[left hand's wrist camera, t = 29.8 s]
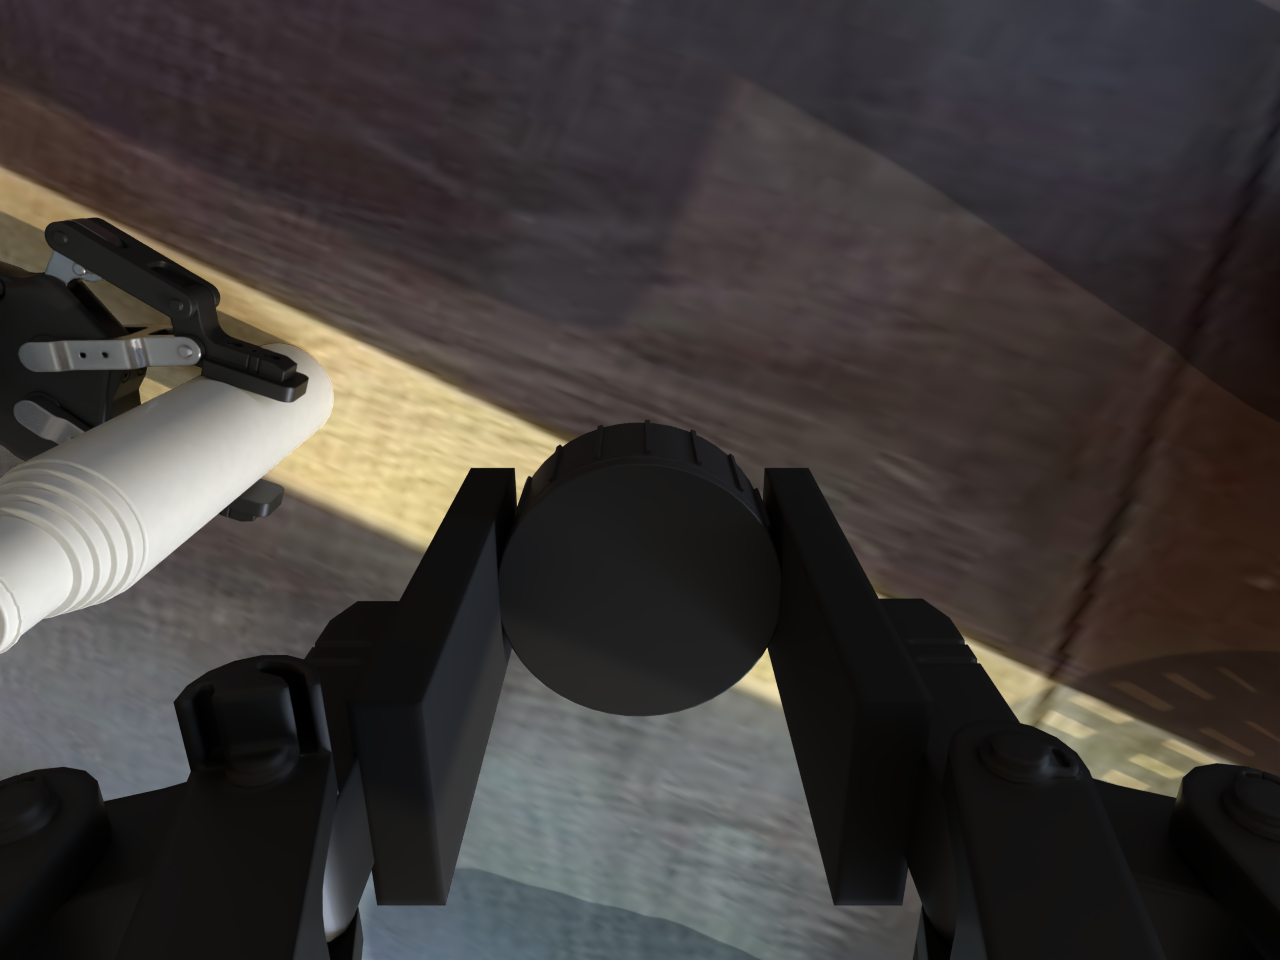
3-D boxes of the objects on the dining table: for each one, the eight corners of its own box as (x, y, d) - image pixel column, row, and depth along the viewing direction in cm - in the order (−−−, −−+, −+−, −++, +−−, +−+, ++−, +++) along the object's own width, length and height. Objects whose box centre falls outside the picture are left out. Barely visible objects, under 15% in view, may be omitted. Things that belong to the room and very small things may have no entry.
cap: (560, 675, 16) (550, 747, 14) (474, 459, 14) (448, 507, 12) (791, 615, 15) (814, 681, 13) (730, 385, 13) (746, 423, 12)
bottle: (263, 323, 41) (-121, 490, 20) (351, 381, 42) (71, 596, 21) (219, 400, 42) (-182, 630, 22) (305, 455, 43) (1, 723, 23)
